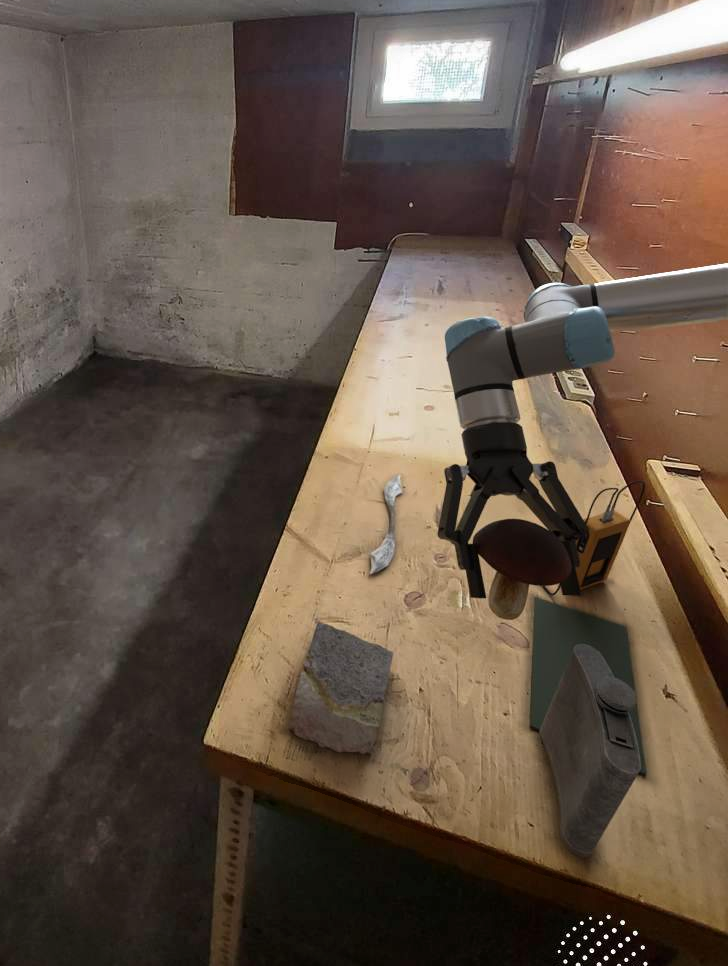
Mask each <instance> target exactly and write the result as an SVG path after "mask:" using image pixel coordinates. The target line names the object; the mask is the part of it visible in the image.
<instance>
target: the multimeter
mask: <svg viewBox="0 0 728 966" xmlns="http://www.w3.org/2000/svg"><path fill="white" fill-rule="evenodd" d="M638 483H641V484H642V489H641V493H640V495H639V498H638V500H637V503H636V505H635V507H634V509H633V511H632V513H631V516H630V517H629V518H628V517H626V516H624V515H623V514H621V513H620V512H619V511H617V510H615V508H616V506H617V502H618V499H619V496H620V495H621V493H622V492H623V491H624V490H626V489H627V488H629V487H631V486H633V485H634V484H638ZM645 488H646V484H645V481H644V480H636V481H632V482H630V483H628V484H627V485H625V486H624V487H622V488H621V489H620V488H618V487H609V488H604V489H602V490H601V491H599V493H597V494H596V495H595V497H594V499H593V500H592V502H591V504H590V507H589V510H588V512H587V516H586V518H582V519H583V520H584V522H585V523H586V525H587V527H588V529H589V533H588V534H587V535H583V536H581V537H580V538H579V539H578V540H576V541H575V543H576V547H577V552H578V556H579V560H580V567H575V568H576V573H577V577H578V581H579V585H580V590H583V589H586V588H588V587H591V586H594V585H598V584H600V583H604V582H606V581H607V580H608V578H609V575H610V574H611V573H610V572H611V570H612V568H613V565H614V563H615V561H616V559H617V556H618V553H619V550H621V546H622V544H623V541H624V539H625V537H626V534H627V532H628V530H629V526H630V524H631V522H632V520H633V518H634V516H635V514H636V512H637V509H638V507H639V505H640V503H641V500H642V498H643V496H644V493H645ZM619 489H620V490H619ZM610 490H614V492H613V493H612V496H611V498H610V499H609V500H610V501H609V503H608V504H607V507H606V509H605V511H604V512H603V513H600V514H597V515H593V516H590V515H591V511H592V509H593V508H594V507H593V506H594V505H595V503H596V501H597V499H598V498H599V496H600V495H601V494H602V493H604V492H607V491H610ZM615 495H616V496H615ZM614 498H615V499H614ZM613 500H614V502H613ZM542 587H543V589H544V590H545V591H546V592H547V593H548V594H549V595H551V596H554V595H557V593H558V592H559V590H561V586H560V583H559V584H558V585H557V589H556V590H555V591H554V592H553V593H552V592H551V591H550V590H549V589H548V588H547V586H542Z"/></svg>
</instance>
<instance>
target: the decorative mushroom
mask: <svg viewBox="0 0 728 966" xmlns="http://www.w3.org/2000/svg"><path fill="white" fill-rule="evenodd" d="M472 538H473V539H472V543H471V544H477V550H478V555H479V557H480V558H481V559H483V560H484V561H485V563H487V565H488V566H490V568H491V569H493V570H494V571H496V572H495V574H494V577H493V579H492V582H491V585H490V588H489V591H488V595H487V596H488V597H487V601H488V607H489V609H490V611H491V612H492V614H493V615H495V616H496V617H497V618H498V619H499V618H500V619H502V620H505V621H513V620H516V619H518V618H519V617H520V616H521V615H522V613H523V612H524V610H525V607H526V604H527V599H528V594H529V589H530V586H537V587H543V586H545V587H550V586H555V585H559V584H560V583H561V582H563V581H565V580H566V579H567V578H568V577H569V576H570V574H571V568H572V566H571V562H570V558H569V556H568V553H567V550H566V549H565V547H564V545H563V543H562V542H561V541H560V540H559V538H558V537H557V536H555V535H554V534H553V533H552V532H550V531H549V530H548V529H547V528H546V527H545V526H542V525H540V524H538V523H536V522H533V521H531V520H530V521H529V520H526V519H521V518H504V519H499V520H496V521H492V522H490V523H488V524H485V526H483V527H482V528H480V529H479V530H478V531H477V532H475V534H474V535H473V537H472Z"/></svg>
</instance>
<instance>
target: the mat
mask: <svg viewBox="0 0 728 966" xmlns="http://www.w3.org/2000/svg"><path fill="white" fill-rule="evenodd" d="M533 607H534V608H533V609H534V610H533V632H532V633H533V634H532V655H531V656H532V658H531V683H530V684H531V685H530V707H529V709H530V710H529V711H530V712H529V728H532V729H533V730H535V731H540V729H541V726H542V724H543V721H544V719H545V717H546V714H547V712H548V709H549V707H550V705H551V702H552V700H553V697H554V695H555V693H556V690H557V688H558V685H559V683H560V681H561V678H562V676H563V673H564V671H565V669H566V666H567V664H568V661H569V659H570V657H571V654H572V652H573V649H574V647H575V646H576V645H579V644H585V645H588V646H591V647H593V648H594V649H596V650H597V651H598V652H599V653H600V654H601V655H602V656H603V658H604V660H605V661H606V663H607V665H608V667H609V668H610V670H611V672H612V674H613V676H614V677H615V678H617V679H619V680H622V681H623V682H625V683H626V684H627V685H629V686H630V687H631V688H632V690H633V691H634V692H635V693H636V688H635V681H634V674H633V666H632V659H631V651H630V644H629V637H628V627H627V626H626V625H622V624H619V623H617V622H613V621H611V620H608V619H604V618H601V617H598V616H595V615H592V614H589V613H586V612H582V611H580V610H577V609H574V608H570V607H569V606H564V605H563V604H558V603H555V602H552V601H550V600H546V599H543V598H540V597H537V596H534V606H533ZM637 703H638V701H637V702H636V704H635V705H634V707H633V709H631V710H630V711H629V710H628V711H629V714H630V717H631V720H632V723H633V727H634V730H635V734H636V738H637V743H638V748H639V754H640V761H641V769H640V772H639V773H638V774H641V775H643V776H646V775H647V769H646V761H645V756H644V755H645V754H644V747H643V740H642V732H641V725H640V718H639V711H638V704H637Z"/></svg>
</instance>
